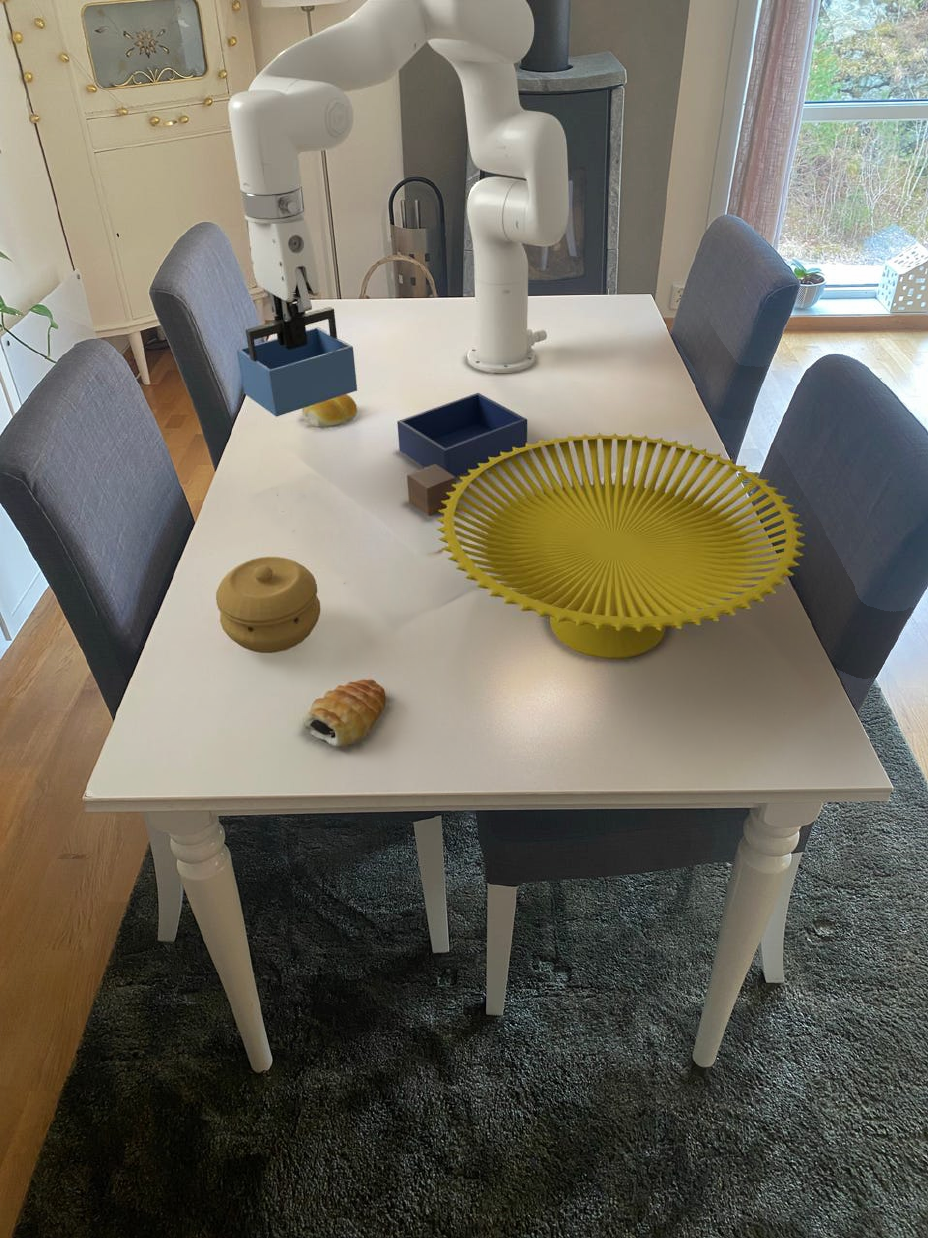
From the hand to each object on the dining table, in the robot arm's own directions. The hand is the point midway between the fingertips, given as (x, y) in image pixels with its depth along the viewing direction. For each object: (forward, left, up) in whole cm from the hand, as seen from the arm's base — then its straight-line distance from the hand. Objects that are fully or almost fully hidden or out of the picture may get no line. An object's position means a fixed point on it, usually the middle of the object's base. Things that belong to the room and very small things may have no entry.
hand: (292, 343), depth 130 cm
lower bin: (-23, +8, -21) cm, 32 cm away
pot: (+22, +30, -22) cm, 43 cm away
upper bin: (0, 0, -7) cm, 7 cm away
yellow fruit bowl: (-11, +53, -22) cm, 58 cm away
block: (-10, +18, -21) cm, 29 cm away
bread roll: (-13, -16, -22) cm, 30 cm away
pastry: (+23, +48, -22) cm, 57 cm away
